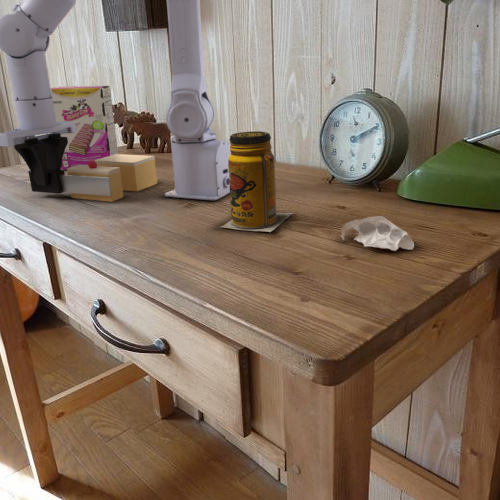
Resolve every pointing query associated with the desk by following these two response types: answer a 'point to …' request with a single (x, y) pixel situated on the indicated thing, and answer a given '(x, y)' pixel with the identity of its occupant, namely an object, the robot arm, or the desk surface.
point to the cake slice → (99, 172)
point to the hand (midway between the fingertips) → (48, 182)
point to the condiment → (252, 183)
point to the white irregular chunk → (378, 233)
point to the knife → (72, 184)
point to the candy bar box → (86, 123)
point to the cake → (132, 170)
